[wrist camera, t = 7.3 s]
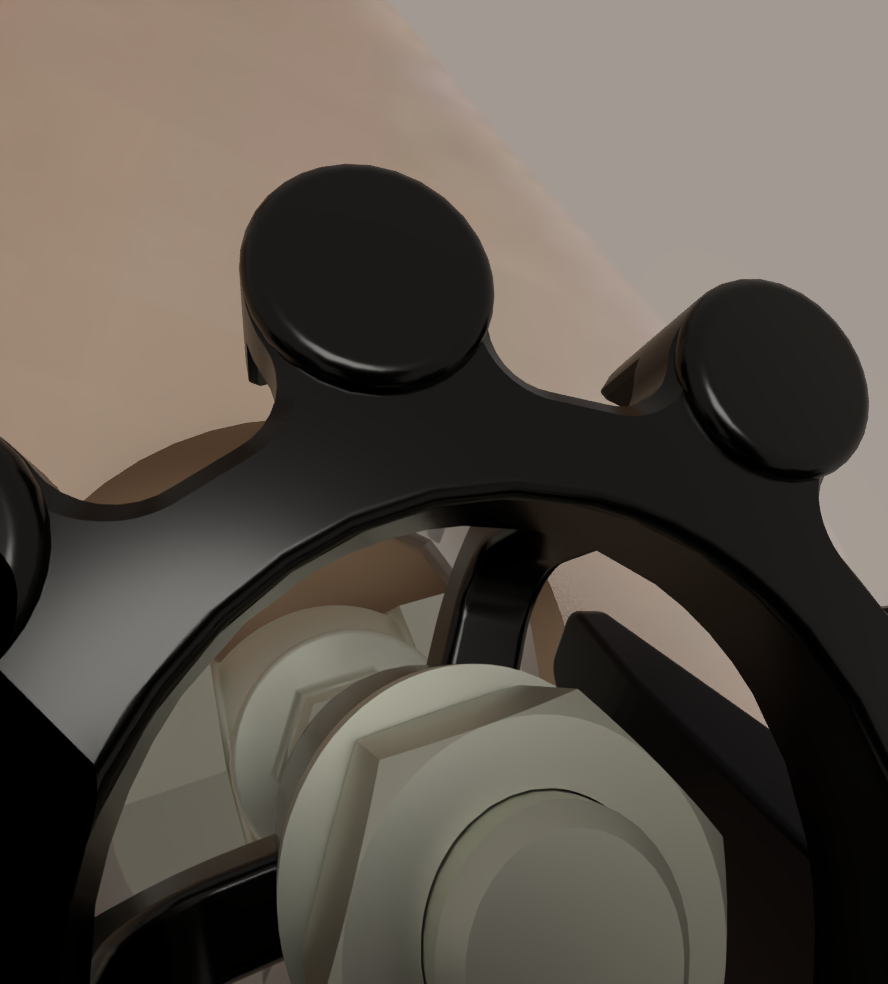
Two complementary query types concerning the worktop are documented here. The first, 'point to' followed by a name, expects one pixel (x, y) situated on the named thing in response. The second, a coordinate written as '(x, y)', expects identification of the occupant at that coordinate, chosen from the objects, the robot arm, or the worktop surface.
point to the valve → (432, 643)
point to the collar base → (322, 590)
